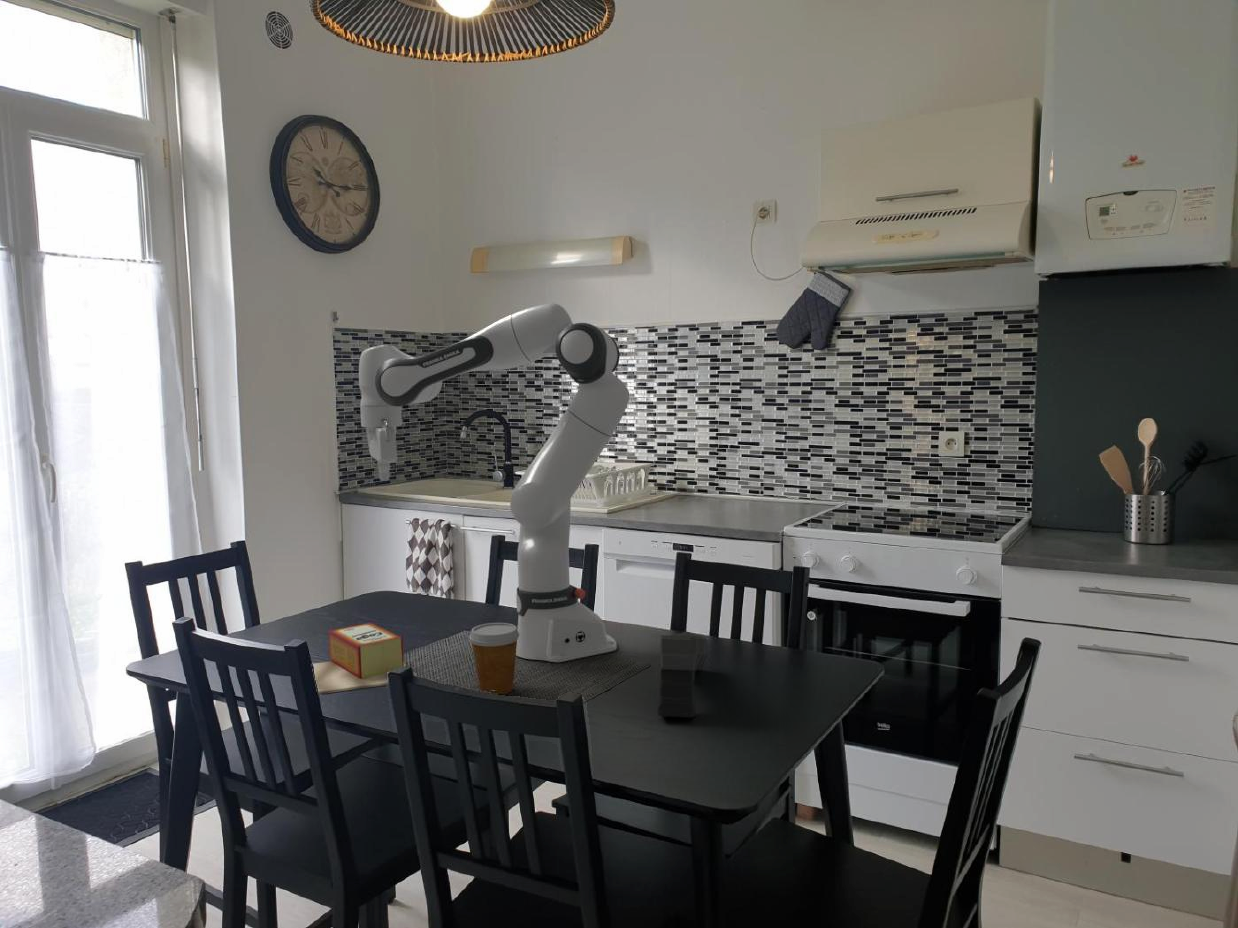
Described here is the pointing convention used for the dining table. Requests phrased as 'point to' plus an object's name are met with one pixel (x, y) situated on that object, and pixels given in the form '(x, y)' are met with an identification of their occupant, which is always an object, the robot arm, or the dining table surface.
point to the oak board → (343, 679)
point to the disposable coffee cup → (495, 656)
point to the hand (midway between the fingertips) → (384, 480)
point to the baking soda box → (365, 650)
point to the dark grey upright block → (680, 672)
